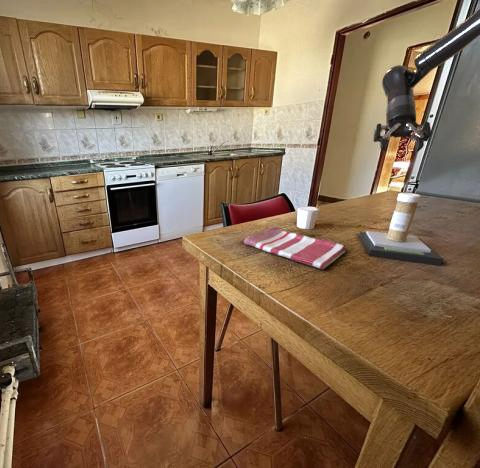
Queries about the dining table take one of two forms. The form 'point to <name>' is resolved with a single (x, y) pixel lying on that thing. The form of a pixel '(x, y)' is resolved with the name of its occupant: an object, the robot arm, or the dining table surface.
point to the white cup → (307, 217)
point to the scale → (399, 248)
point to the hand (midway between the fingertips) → (401, 149)
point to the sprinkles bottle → (403, 216)
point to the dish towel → (297, 247)
